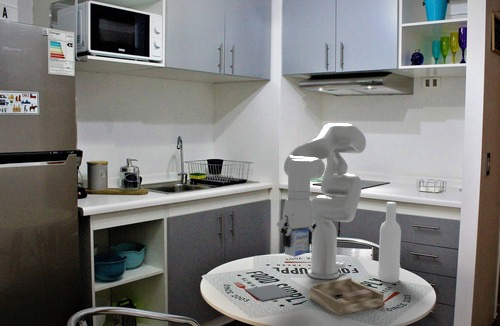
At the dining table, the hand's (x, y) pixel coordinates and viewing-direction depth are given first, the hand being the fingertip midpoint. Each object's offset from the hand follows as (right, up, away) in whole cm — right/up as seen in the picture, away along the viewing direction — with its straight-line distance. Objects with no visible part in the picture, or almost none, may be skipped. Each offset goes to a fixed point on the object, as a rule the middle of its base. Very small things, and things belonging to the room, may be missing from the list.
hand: (297, 244), depth 173 cm
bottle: (+37, -17, +21) cm, 46 cm away
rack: (+16, -19, -4) cm, 25 cm away
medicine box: (0, -3, +1) cm, 3 cm away
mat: (-10, -18, +4) cm, 21 cm away
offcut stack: (+18, -19, -8) cm, 28 cm away
